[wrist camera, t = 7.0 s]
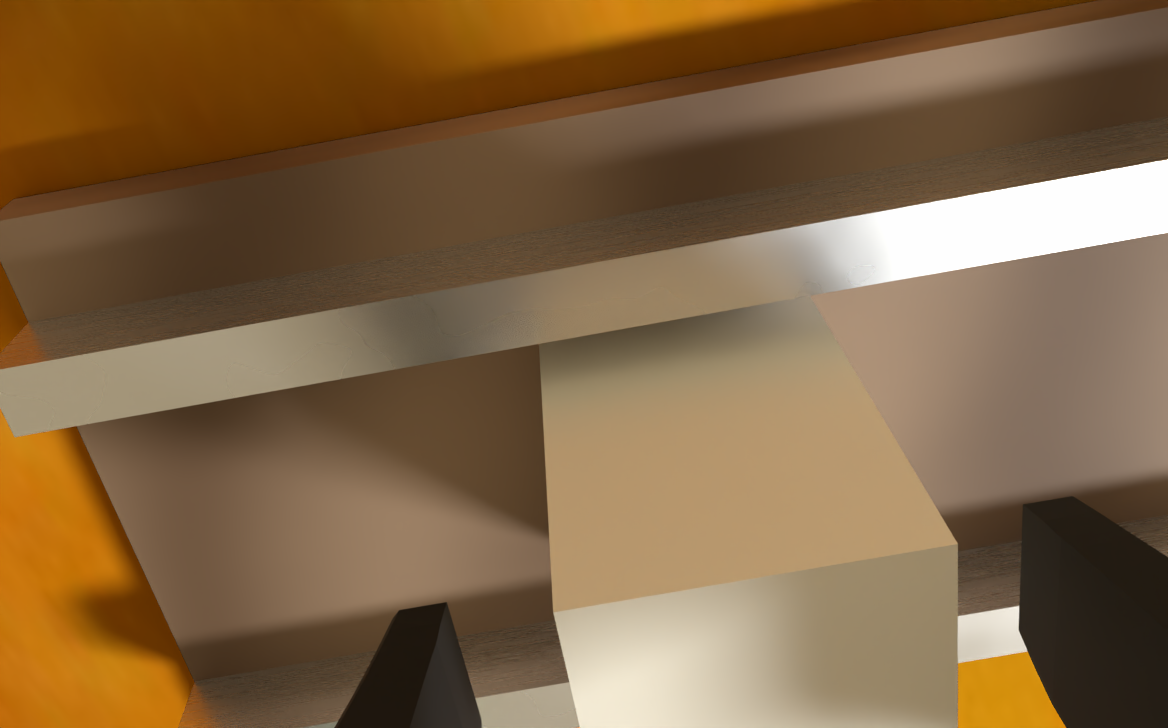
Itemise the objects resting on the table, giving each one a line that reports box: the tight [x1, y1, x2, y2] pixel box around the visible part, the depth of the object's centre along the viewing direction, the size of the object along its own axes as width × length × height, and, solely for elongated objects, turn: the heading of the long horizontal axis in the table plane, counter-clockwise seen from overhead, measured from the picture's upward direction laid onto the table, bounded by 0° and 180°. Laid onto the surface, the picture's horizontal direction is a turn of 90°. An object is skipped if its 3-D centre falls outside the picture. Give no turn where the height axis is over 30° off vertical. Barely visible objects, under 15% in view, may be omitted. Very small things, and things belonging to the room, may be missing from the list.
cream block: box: [539, 296, 958, 728], centre depth 14 cm, size 4×4×6 cm
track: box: [0, 0, 1168, 728], centre depth 17 cm, size 18×11×2 cm, turn 99°
